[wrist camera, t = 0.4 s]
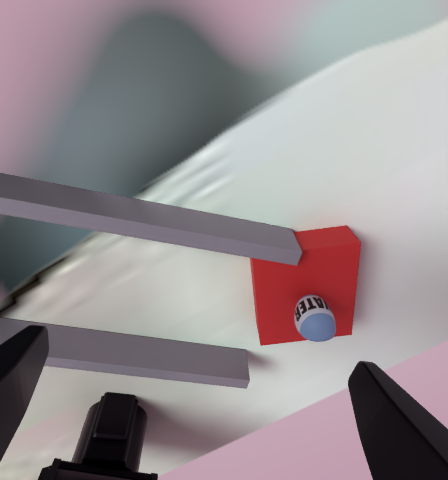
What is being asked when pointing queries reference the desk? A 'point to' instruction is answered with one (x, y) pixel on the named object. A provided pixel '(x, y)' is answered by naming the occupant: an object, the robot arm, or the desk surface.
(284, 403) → the desk surface
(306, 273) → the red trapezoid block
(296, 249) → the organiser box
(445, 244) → the desk surface
